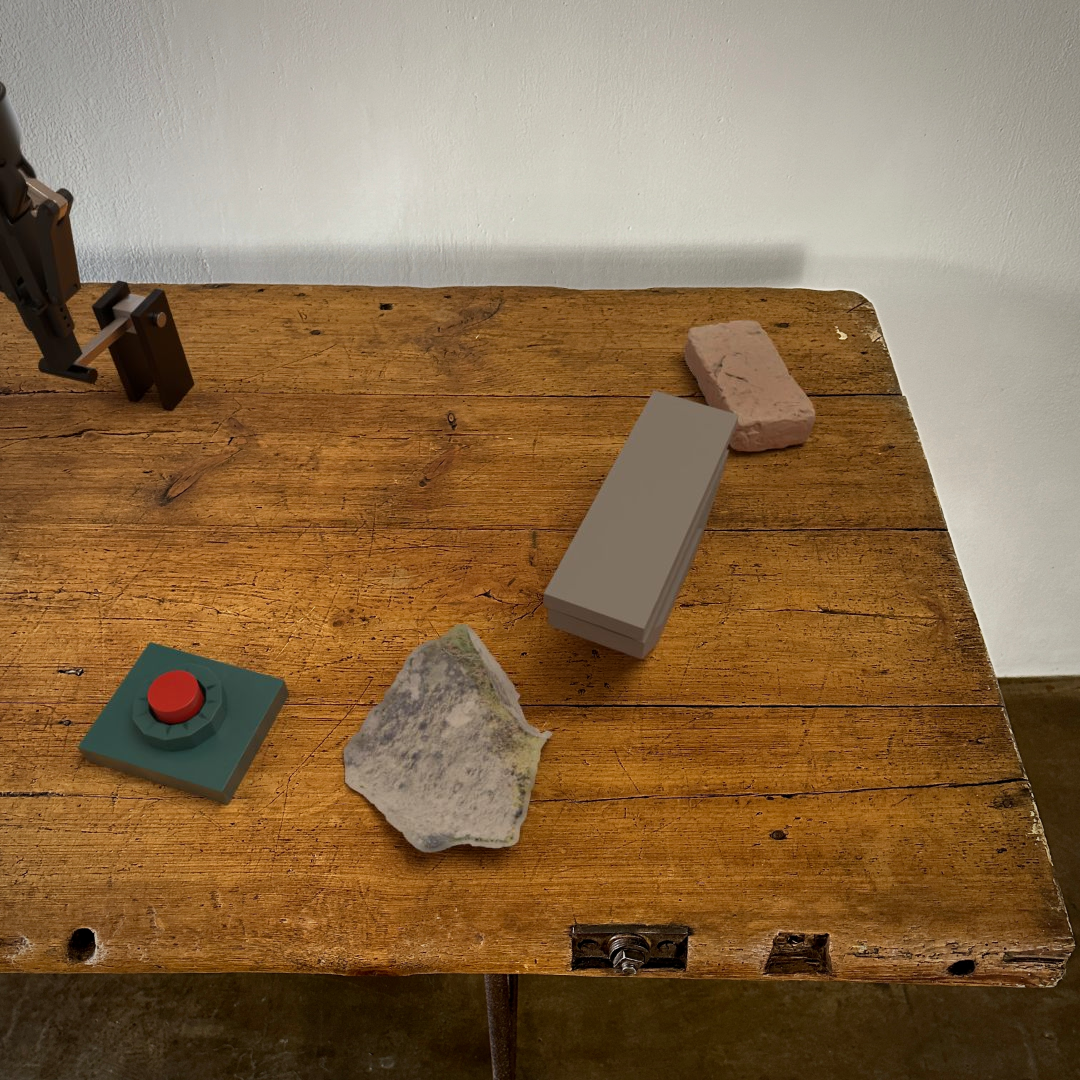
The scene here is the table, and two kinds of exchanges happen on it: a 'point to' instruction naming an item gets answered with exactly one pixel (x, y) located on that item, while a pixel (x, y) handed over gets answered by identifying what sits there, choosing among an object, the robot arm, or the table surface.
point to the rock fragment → (448, 748)
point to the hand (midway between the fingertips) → (66, 361)
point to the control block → (187, 725)
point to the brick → (749, 385)
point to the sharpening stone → (643, 527)
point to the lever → (99, 343)
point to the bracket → (147, 347)
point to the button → (175, 697)
